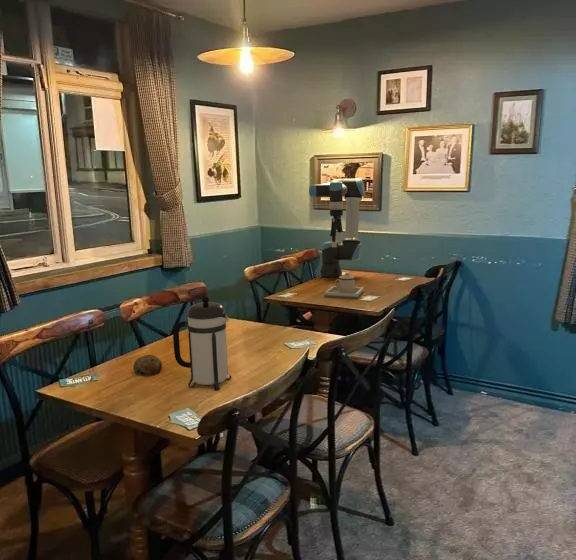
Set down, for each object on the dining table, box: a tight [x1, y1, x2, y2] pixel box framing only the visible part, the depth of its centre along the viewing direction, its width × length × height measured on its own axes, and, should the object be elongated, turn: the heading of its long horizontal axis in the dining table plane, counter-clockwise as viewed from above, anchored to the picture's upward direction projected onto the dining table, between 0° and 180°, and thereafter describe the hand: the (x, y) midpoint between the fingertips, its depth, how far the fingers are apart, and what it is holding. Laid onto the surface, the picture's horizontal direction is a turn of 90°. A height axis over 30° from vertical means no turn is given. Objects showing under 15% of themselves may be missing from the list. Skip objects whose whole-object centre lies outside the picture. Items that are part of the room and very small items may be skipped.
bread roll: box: [133, 354, 163, 377], centre depth 190 cm, size 10×10×8 cm
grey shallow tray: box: [323, 285, 365, 299], centre depth 301 cm, size 17×19×2 cm
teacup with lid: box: [334, 272, 356, 293], centre depth 300 cm, size 12×9×12 cm
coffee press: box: [172, 296, 232, 391], centre depth 175 cm, size 17×16×30 cm
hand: (336, 245), depth 311 cm, fingers open, 13 cm apart
